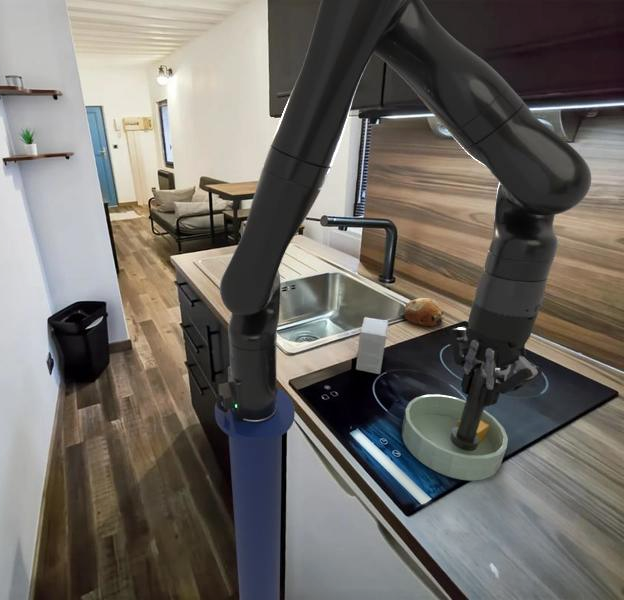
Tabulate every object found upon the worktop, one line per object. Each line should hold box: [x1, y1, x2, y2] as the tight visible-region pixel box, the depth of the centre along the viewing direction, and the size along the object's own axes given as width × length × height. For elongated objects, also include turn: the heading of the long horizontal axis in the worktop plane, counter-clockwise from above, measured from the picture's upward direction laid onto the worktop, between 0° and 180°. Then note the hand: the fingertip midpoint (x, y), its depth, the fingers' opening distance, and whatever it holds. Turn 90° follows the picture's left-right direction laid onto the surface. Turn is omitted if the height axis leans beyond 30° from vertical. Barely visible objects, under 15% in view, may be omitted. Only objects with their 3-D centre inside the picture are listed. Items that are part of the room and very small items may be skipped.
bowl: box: [401, 394, 509, 482], centre depth 65 cm, size 15×15×5 cm
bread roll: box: [403, 297, 445, 327], centre depth 107 cm, size 10×10×8 cm
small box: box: [355, 316, 389, 375], centre depth 87 cm, size 8×6×10 cm
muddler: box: [450, 368, 487, 451], centre depth 60 cm, size 4×4×14 cm
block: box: [456, 420, 489, 444], centre depth 65 cm, size 4×4×4 cm
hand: (476, 398), depth 59 cm, fingers closed on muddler, 2 cm apart
